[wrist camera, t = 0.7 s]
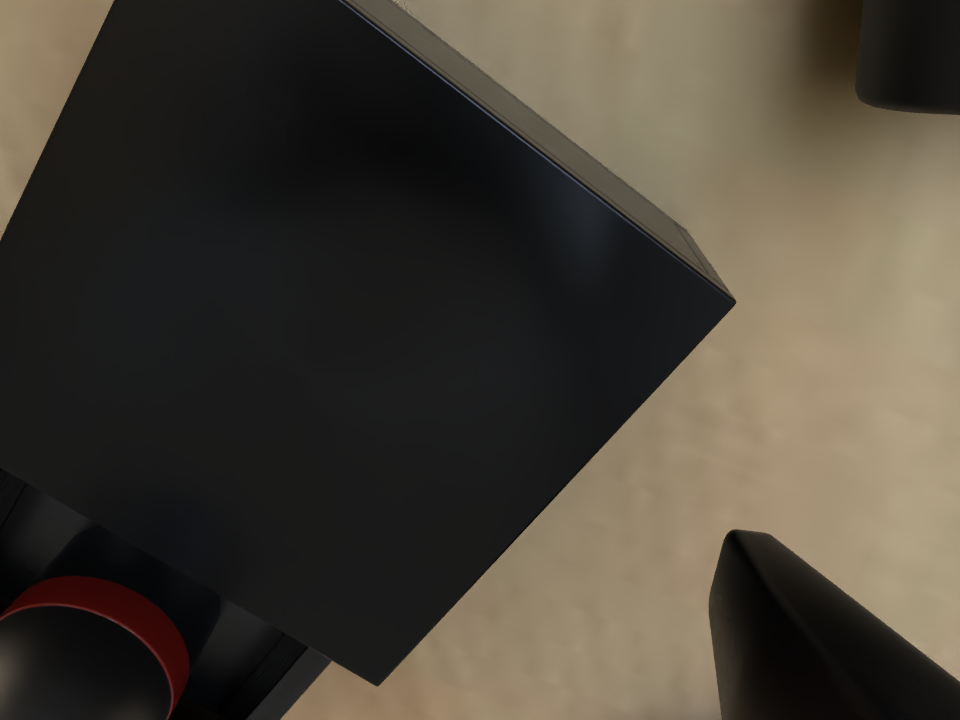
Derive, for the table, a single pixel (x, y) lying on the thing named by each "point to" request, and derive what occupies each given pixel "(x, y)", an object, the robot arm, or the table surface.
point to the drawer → (227, 654)
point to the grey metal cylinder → (102, 635)
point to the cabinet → (324, 311)
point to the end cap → (910, 56)
